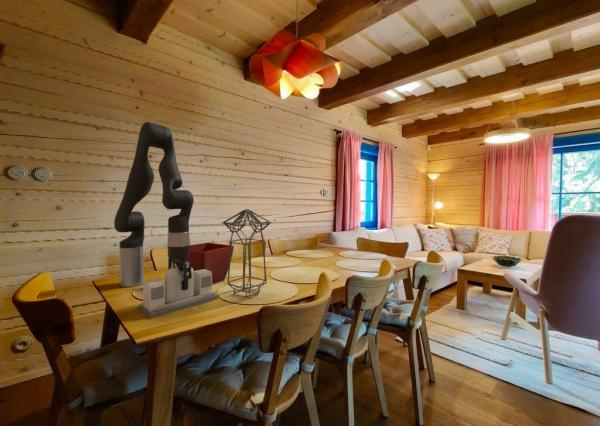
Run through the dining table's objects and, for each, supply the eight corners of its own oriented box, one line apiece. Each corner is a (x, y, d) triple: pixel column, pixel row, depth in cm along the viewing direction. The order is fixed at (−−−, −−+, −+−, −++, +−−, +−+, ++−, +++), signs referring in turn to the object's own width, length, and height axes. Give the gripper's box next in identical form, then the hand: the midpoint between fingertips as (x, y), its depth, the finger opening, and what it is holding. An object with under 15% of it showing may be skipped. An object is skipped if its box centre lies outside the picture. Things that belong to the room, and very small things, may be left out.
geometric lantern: (247, 285, 127) (246, 208, 125) (273, 292, 118) (273, 209, 117) (219, 295, 114) (218, 209, 113) (247, 303, 105) (246, 210, 104)
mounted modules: (143, 306, 98) (142, 280, 98) (204, 290, 115) (204, 269, 115) (150, 311, 94) (149, 284, 94) (212, 294, 111) (212, 271, 110)
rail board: (139, 308, 100) (138, 301, 100) (202, 292, 118) (201, 286, 117) (151, 318, 92) (151, 310, 92) (217, 299, 109) (217, 293, 109)
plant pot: (235, 279, 136) (235, 245, 135) (203, 290, 120) (202, 251, 119) (208, 274, 146) (207, 242, 145) (175, 283, 130) (174, 247, 129)
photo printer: (192, 295, 109) (192, 264, 109) (195, 298, 106) (195, 266, 105) (163, 300, 103) (162, 267, 103) (165, 304, 100) (165, 270, 99)
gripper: (160, 243, 106) (161, 285, 106) (177, 247, 96) (178, 294, 97) (180, 241, 111) (181, 281, 112) (197, 245, 102) (198, 289, 102)
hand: (179, 287), depth 104 cm, fingers open, 8 cm apart
